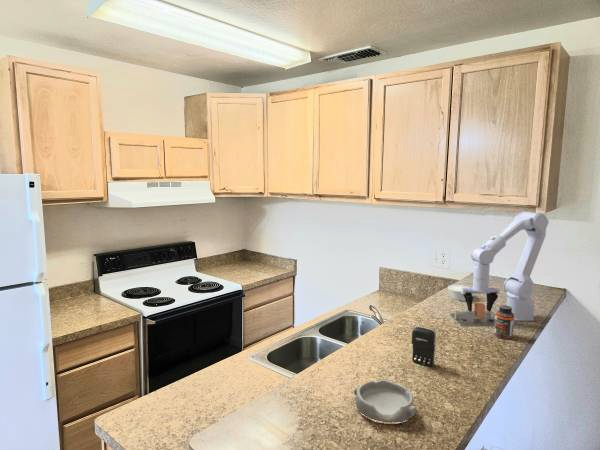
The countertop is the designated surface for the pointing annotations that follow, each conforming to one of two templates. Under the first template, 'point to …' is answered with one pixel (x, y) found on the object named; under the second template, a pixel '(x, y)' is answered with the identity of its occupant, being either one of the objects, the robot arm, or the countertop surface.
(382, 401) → the dish
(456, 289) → the ramekin
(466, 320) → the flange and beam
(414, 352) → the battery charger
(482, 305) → the block
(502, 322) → the supplement bottle
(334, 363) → the countertop surface
